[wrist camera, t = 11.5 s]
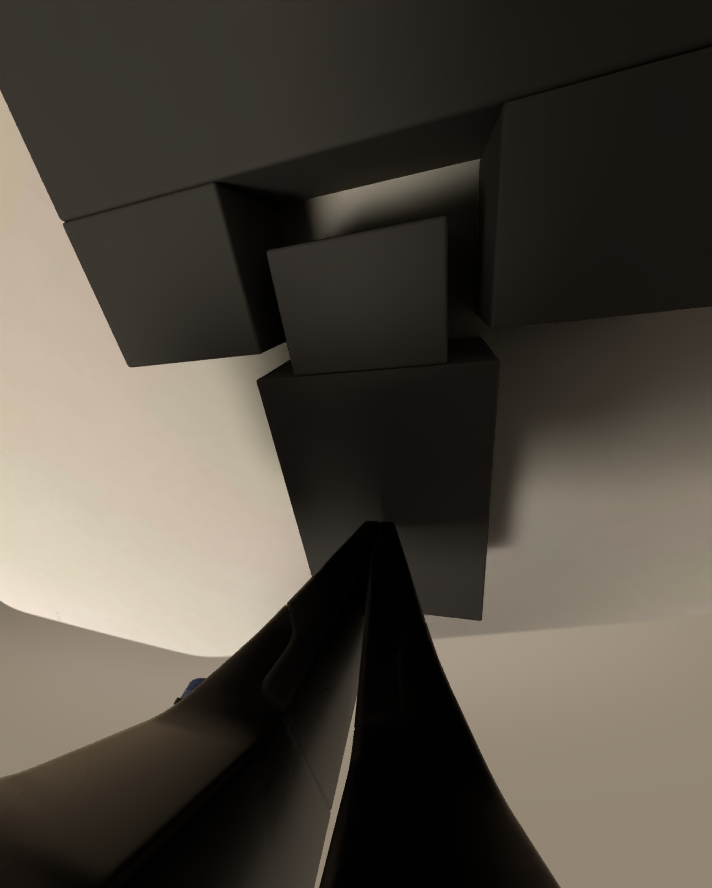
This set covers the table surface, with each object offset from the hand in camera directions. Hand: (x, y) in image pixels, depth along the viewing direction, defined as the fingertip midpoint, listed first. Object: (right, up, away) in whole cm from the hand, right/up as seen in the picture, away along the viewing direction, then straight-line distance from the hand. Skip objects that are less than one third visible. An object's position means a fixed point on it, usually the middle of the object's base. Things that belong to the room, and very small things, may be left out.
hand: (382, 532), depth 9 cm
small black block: (0, +3, +2) cm, 4 cm away
